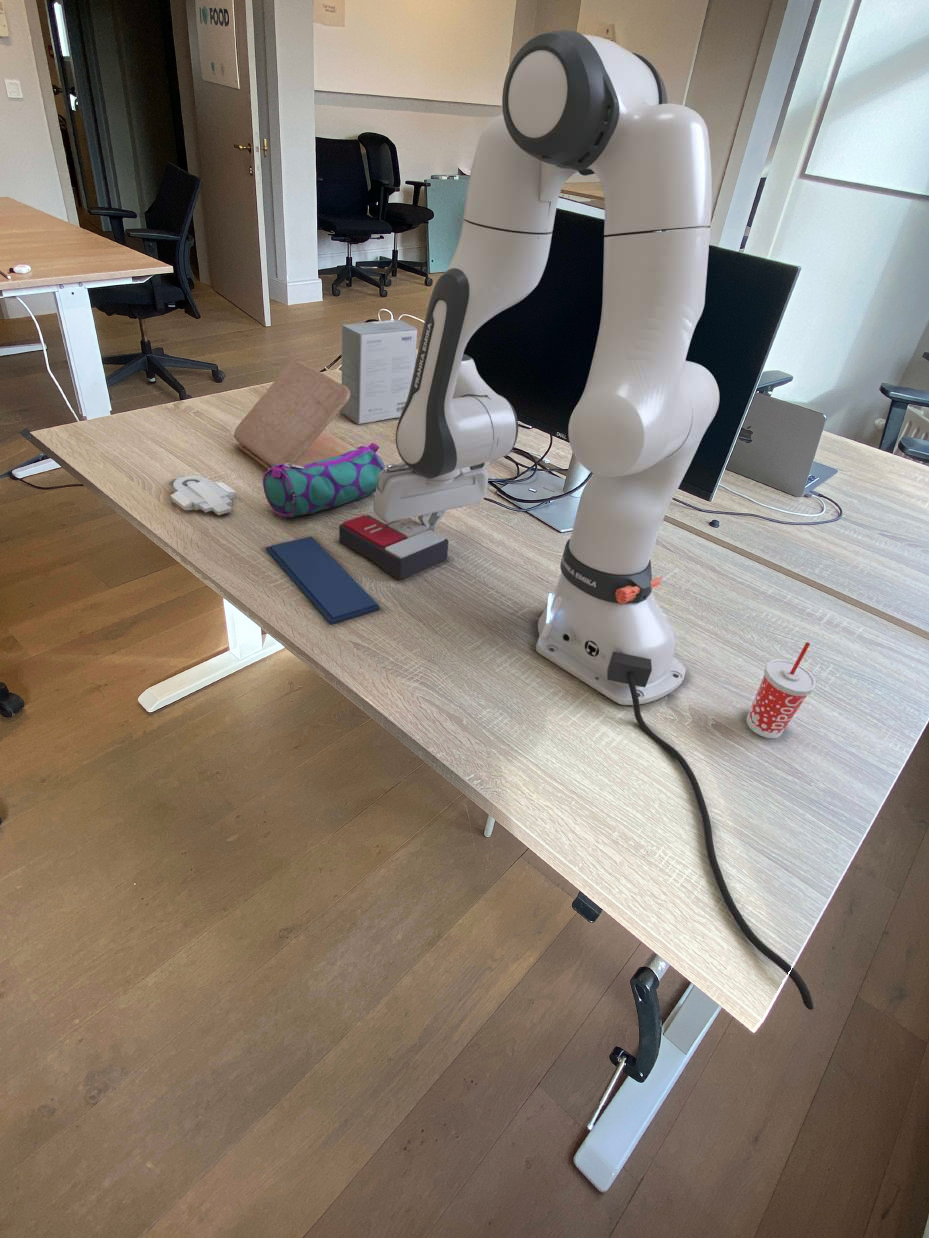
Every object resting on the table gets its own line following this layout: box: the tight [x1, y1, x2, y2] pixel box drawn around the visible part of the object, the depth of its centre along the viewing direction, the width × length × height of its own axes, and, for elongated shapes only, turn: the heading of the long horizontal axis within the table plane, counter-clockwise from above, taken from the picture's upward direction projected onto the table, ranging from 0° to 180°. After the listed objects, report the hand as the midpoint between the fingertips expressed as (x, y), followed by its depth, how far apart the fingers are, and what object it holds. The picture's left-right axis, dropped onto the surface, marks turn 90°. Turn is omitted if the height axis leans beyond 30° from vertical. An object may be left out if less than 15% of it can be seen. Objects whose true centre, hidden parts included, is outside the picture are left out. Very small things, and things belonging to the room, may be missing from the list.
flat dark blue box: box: [265, 536, 381, 625], centre depth 106 cm, size 22×8×1 cm, turn 36°
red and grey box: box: [338, 511, 449, 581], centre depth 114 cm, size 11×4×15 cm
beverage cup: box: [746, 641, 817, 739], centre depth 88 cm, size 6×6×14 cm
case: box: [233, 361, 358, 470], centre depth 135 cm, size 20×21×16 cm
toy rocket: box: [170, 475, 237, 516], centre depth 121 cm, size 16×10×2 cm, turn 47°
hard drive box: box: [341, 319, 419, 425], centre depth 157 cm, size 16×8×20 cm, turn 130°
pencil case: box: [262, 442, 386, 518], centre depth 123 cm, size 21×9×10 cm, turn 135°
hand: (427, 532), depth 118 cm, fingers closed
